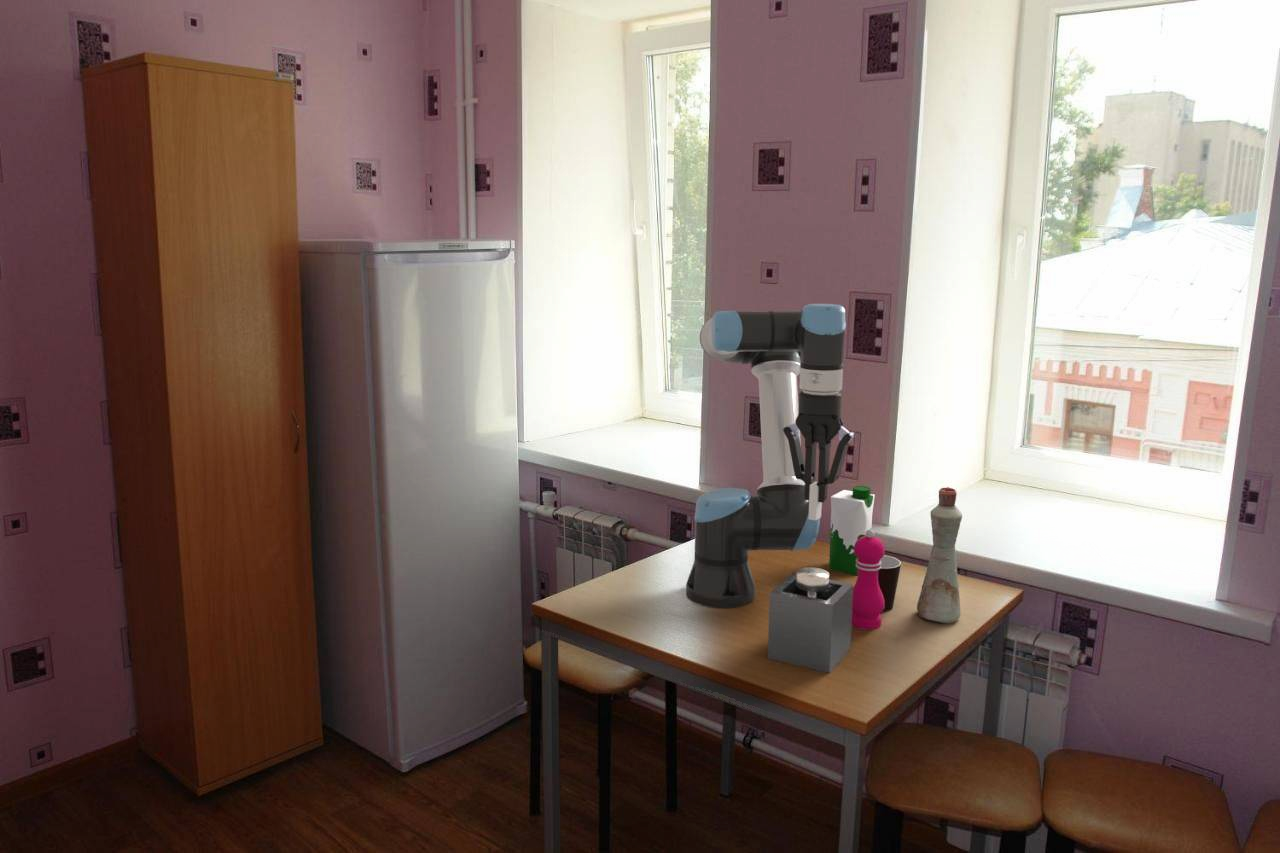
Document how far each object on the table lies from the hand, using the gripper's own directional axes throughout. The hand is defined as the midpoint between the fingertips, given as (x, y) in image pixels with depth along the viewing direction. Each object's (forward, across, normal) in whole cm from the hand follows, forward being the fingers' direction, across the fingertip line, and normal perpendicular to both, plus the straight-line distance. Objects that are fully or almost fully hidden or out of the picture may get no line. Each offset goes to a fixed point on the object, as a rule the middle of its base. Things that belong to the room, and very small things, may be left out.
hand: (814, 517), depth 173 cm
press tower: (+27, 0, 0) cm, 27 cm away
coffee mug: (+27, +4, +31) cm, 41 cm away
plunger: (+25, 0, 0) cm, 25 cm away
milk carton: (+27, -8, +49) cm, 56 cm away
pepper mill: (+27, +5, +19) cm, 33 cm away
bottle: (+27, +17, +30) cm, 44 cm away
